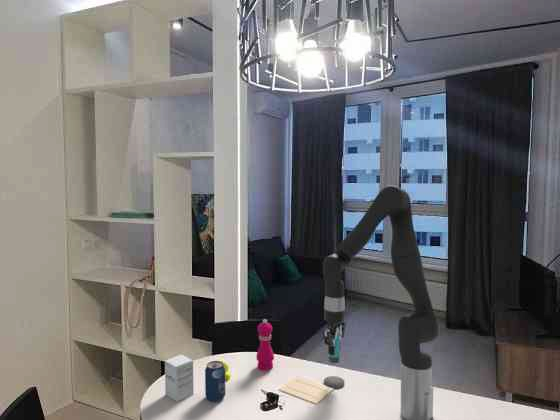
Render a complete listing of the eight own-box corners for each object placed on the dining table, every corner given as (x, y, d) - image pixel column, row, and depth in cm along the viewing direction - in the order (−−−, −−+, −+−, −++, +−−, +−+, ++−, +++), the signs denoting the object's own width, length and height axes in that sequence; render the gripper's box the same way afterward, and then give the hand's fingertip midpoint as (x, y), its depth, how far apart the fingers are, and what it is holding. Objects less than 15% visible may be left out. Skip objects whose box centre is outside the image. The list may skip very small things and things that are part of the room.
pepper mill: (273, 371, 153) (273, 322, 152) (255, 371, 153) (255, 322, 152) (274, 363, 160) (274, 316, 159) (257, 363, 161) (256, 316, 159)
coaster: (347, 382, 145) (347, 379, 144) (338, 390, 138) (338, 388, 138) (330, 376, 149) (330, 374, 149) (320, 384, 143) (320, 382, 143)
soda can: (224, 402, 131) (224, 368, 130) (204, 403, 131) (203, 369, 130) (226, 392, 138) (225, 359, 137) (206, 392, 138) (206, 360, 137)
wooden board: (333, 389, 139) (333, 388, 139) (316, 404, 130) (316, 403, 130) (297, 376, 149) (297, 375, 149) (278, 390, 139) (278, 389, 139)
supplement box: (164, 394, 136) (163, 360, 136) (182, 386, 142) (182, 353, 141) (176, 402, 131) (175, 366, 131) (194, 394, 137) (193, 359, 136)
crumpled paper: (213, 373, 152) (213, 354, 152) (232, 375, 150) (232, 356, 150) (207, 380, 146) (206, 361, 146) (226, 383, 145) (226, 363, 144)
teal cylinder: (341, 360, 144) (341, 328, 143) (336, 364, 141) (336, 332, 140) (331, 357, 146) (332, 326, 146) (326, 361, 143) (326, 329, 142)
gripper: (334, 314, 134) (334, 362, 135) (352, 304, 146) (352, 348, 147) (315, 310, 139) (315, 356, 140) (334, 301, 150) (334, 343, 151)
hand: (334, 352), depth 143 cm, fingers closed on teal cylinder, 4 cm apart
